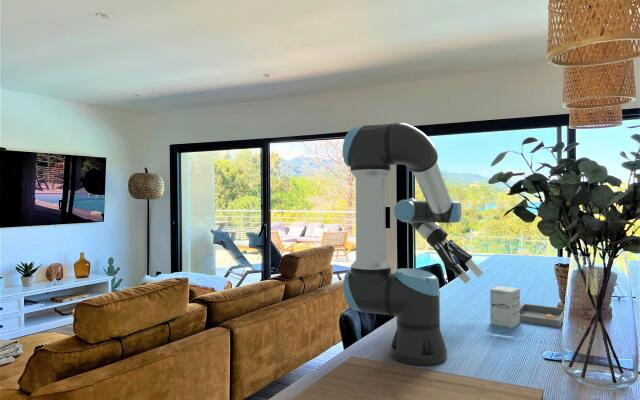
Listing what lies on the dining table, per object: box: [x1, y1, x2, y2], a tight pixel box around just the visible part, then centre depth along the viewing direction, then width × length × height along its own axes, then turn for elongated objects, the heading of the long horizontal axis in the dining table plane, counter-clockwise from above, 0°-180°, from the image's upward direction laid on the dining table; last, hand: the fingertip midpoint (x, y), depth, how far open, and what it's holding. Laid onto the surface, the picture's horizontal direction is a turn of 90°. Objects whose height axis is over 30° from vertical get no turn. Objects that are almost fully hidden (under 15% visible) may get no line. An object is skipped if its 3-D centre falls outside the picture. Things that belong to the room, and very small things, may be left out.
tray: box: [520, 303, 564, 328], centre depth 158 cm, size 18×15×3 cm
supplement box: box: [489, 285, 521, 329], centre depth 151 cm, size 7×7×13 cm
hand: (475, 278), depth 157 cm, fingers open, 13 cm apart
